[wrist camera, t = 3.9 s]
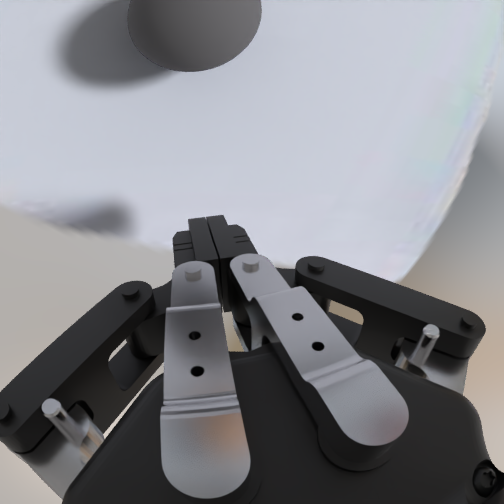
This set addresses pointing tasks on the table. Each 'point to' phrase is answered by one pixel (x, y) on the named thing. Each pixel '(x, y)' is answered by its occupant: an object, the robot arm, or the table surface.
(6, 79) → the table surface
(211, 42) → the gray ball
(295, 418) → the robot arm
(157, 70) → the table surface
